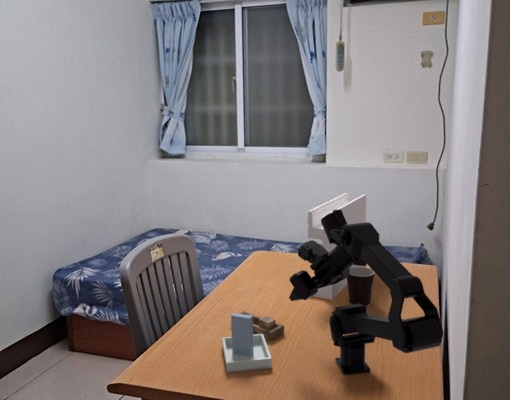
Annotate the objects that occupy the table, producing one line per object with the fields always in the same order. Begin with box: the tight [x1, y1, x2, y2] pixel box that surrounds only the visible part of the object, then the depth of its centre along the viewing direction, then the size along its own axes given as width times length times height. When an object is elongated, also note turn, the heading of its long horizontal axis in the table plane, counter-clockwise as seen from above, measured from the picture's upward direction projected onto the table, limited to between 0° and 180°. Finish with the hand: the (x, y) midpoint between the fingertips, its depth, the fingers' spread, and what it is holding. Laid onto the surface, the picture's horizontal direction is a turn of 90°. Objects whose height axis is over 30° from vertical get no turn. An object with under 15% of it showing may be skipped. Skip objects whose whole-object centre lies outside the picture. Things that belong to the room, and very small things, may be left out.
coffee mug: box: [347, 266, 376, 307], centre depth 145 cm, size 12×9×10 cm
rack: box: [238, 311, 285, 342], centre depth 130 cm, size 15×5×2 cm, turn 49°
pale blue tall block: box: [230, 312, 254, 357], centre depth 116 cm, size 5×2×10 cm, turn 68°
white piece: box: [307, 192, 367, 301], centre depth 164 cm, size 35×8×28 cm, turn 150°
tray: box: [221, 334, 273, 374], centre depth 116 cm, size 13×11×2 cm
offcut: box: [259, 315, 277, 330], centre depth 127 cm, size 4×3×2 cm
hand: (301, 293), depth 120 cm, fingers open, 9 cm apart
